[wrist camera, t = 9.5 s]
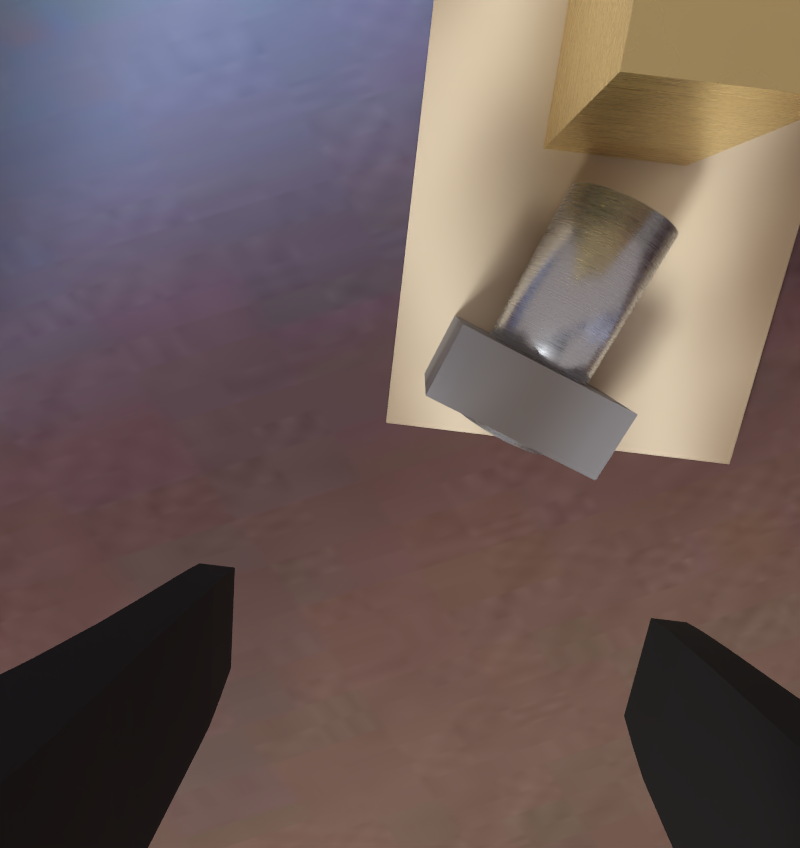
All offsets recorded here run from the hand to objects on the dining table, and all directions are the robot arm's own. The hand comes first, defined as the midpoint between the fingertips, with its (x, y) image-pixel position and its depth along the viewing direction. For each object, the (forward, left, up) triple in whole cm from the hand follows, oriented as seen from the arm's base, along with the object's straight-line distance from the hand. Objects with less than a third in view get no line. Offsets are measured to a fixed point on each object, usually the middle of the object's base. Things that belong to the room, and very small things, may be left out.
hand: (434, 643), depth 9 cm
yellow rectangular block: (-4, -12, -9) cm, 15 cm away
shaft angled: (-3, -5, -9) cm, 11 cm away
